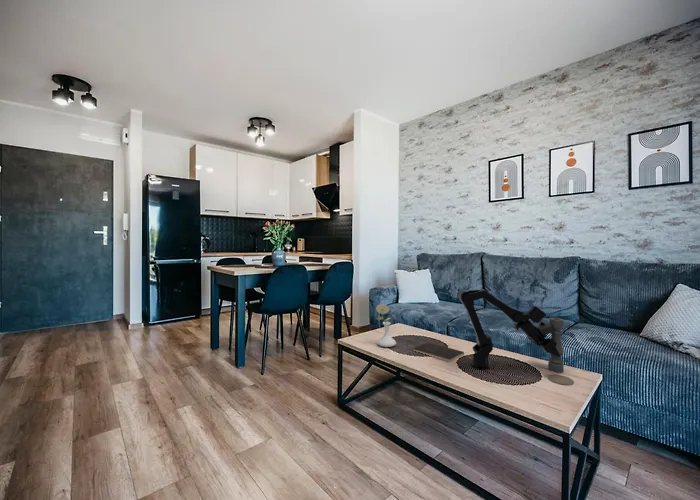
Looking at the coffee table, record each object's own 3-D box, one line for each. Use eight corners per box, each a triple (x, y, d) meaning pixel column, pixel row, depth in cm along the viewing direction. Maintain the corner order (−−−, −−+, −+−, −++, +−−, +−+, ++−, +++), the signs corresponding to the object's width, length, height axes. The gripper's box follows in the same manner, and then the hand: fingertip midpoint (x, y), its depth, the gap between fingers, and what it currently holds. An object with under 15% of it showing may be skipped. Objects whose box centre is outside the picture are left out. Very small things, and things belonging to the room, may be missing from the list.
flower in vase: (399, 344, 190) (399, 303, 189) (391, 349, 180) (391, 307, 179) (380, 340, 197) (380, 301, 196) (371, 346, 187) (371, 304, 186)
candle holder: (563, 374, 146) (564, 321, 146) (548, 371, 149) (548, 319, 149) (563, 369, 151) (563, 318, 151) (548, 366, 155) (548, 316, 154)
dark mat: (563, 386, 133) (563, 385, 133) (541, 377, 142) (541, 376, 142) (579, 383, 136) (579, 382, 136) (557, 374, 146) (557, 373, 146)
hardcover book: (449, 363, 161) (449, 358, 161) (412, 352, 178) (412, 348, 178) (464, 355, 172) (464, 351, 172) (428, 345, 189) (428, 342, 189)
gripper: (552, 323, 141) (578, 347, 140) (533, 313, 160) (556, 335, 159) (534, 339, 143) (559, 364, 141) (517, 328, 161) (540, 350, 160)
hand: (554, 352), depth 150 cm, fingers open, 9 cm apart
